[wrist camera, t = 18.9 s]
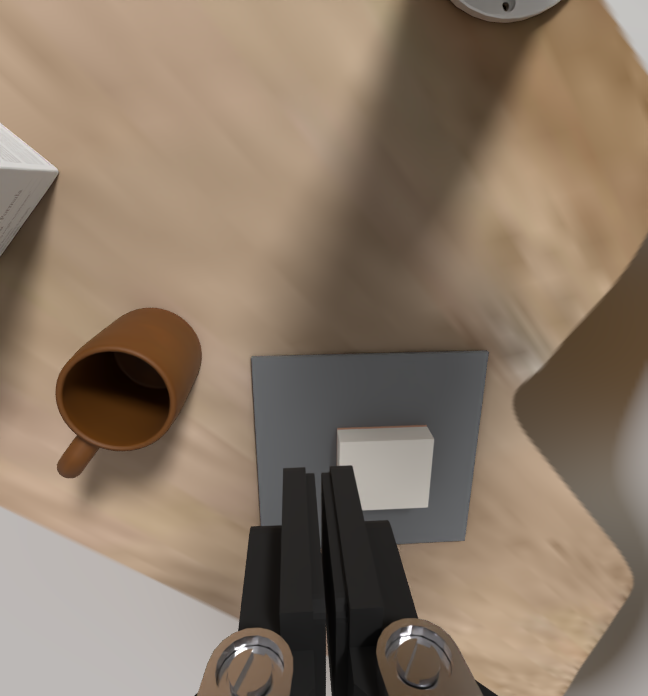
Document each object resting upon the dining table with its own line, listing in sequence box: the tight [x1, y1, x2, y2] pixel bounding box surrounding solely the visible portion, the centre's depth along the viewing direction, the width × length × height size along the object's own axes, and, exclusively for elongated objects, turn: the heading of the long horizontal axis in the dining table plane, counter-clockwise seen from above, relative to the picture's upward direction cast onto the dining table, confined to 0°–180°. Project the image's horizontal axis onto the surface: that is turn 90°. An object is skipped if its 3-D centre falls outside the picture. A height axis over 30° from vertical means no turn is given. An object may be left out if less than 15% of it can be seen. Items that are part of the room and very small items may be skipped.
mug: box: [56, 308, 202, 478], centre depth 34 cm, size 12×8×9 cm, turn 142°
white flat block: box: [337, 425, 434, 510], centre depth 41 cm, size 7×2×8 cm
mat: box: [251, 350, 489, 546], centre depth 42 cm, size 20×20×1 cm
